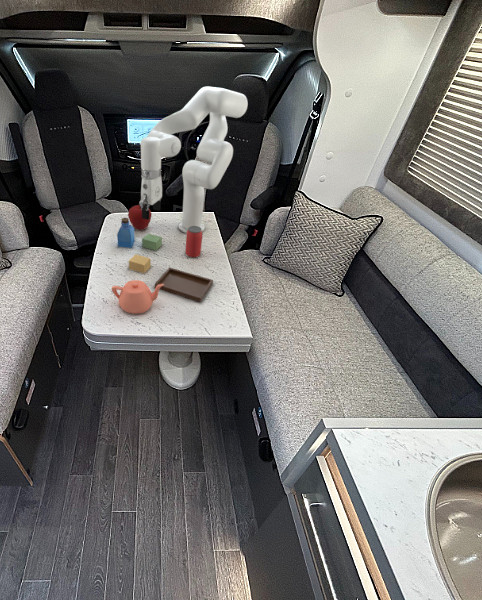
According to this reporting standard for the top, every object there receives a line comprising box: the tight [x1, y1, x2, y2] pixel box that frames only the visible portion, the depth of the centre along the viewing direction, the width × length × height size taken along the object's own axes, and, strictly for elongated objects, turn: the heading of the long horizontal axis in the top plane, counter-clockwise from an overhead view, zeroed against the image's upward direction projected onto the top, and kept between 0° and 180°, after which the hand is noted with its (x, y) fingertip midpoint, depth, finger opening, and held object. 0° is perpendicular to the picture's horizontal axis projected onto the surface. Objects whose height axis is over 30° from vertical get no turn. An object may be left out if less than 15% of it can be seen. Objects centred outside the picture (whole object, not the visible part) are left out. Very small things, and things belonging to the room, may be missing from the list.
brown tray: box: [154, 266, 214, 303], centre depth 129 cm, size 13×19×2 cm
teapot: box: [111, 279, 164, 315], centre depth 118 cm, size 12×18×10 cm
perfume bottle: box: [116, 217, 136, 249], centre depth 150 cm, size 6×6×12 cm
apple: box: [127, 204, 153, 231], centre depth 162 cm, size 11×11×12 cm
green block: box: [141, 233, 163, 251], centre depth 152 cm, size 6×7×4 cm
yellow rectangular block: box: [128, 253, 152, 274], centre depth 138 cm, size 6×7×4 cm
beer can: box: [185, 226, 203, 258], centre depth 144 cm, size 7×7×12 cm
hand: (151, 214), depth 142 cm, fingers open, 9 cm apart
